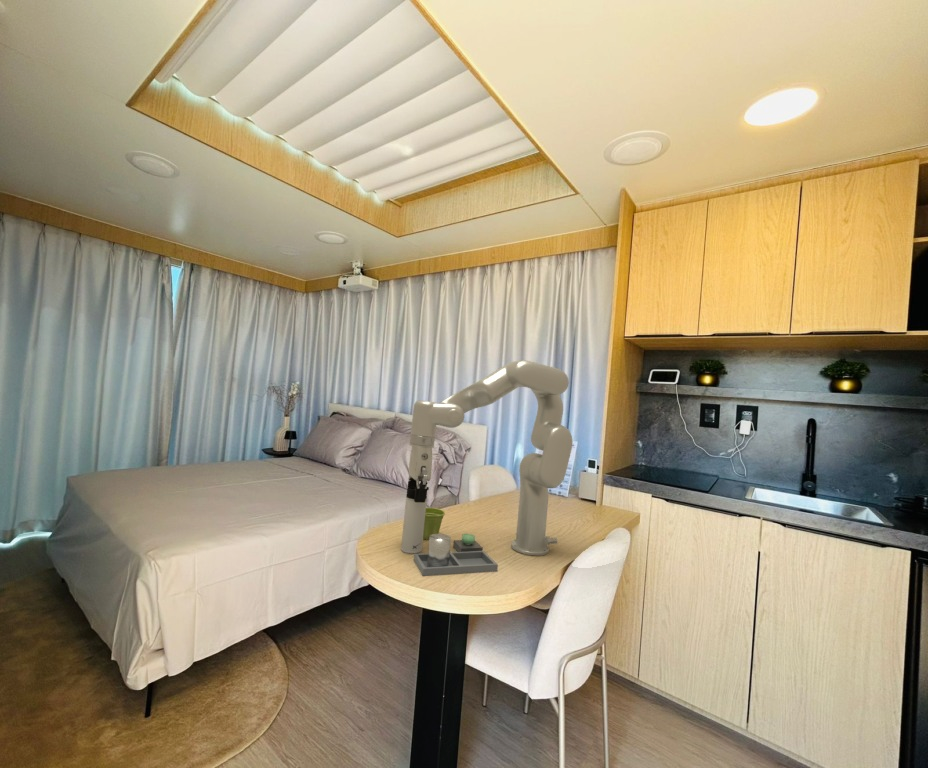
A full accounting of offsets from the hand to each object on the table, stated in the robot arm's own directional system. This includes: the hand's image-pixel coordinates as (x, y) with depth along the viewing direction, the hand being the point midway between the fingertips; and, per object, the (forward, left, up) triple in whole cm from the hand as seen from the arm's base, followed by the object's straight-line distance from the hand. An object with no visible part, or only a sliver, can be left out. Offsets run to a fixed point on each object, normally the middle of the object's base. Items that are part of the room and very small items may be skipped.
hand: (415, 497), depth 121 cm
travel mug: (0, 0, -17) cm, 17 cm away
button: (-17, +2, -16) cm, 24 cm away
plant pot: (-9, -13, -17) cm, 23 cm away
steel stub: (-5, +13, -16) cm, 21 cm away
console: (-17, +3, -17) cm, 24 cm away
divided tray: (-10, +13, -17) cm, 23 cm away
